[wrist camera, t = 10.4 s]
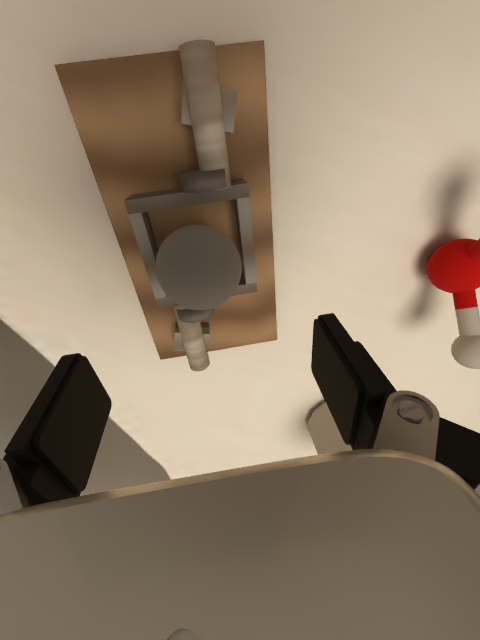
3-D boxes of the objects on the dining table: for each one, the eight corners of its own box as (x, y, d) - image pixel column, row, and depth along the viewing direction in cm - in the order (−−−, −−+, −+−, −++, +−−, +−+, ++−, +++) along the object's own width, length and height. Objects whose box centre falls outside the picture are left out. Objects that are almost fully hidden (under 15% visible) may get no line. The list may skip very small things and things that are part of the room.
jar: (351, 383, 41) (439, 523, 26) (372, 414, 46) (455, 547, 31) (294, 413, 43) (345, 558, 28) (320, 440, 48) (375, 575, 33)
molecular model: (422, 181, 26) (525, 201, 18) (483, 163, 26) (615, 175, 18) (405, 325, 36) (467, 381, 28) (450, 313, 36) (525, 365, 28)
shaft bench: (60, 68, 19) (22, 48, 15) (261, 44, 20) (278, 19, 16) (161, 354, 34) (156, 385, 29) (275, 334, 34) (286, 362, 30)
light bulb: (151, 240, 25) (128, 289, 17) (196, 189, 23) (195, 215, 15) (201, 282, 28) (203, 341, 20) (244, 239, 26) (266, 284, 18)
